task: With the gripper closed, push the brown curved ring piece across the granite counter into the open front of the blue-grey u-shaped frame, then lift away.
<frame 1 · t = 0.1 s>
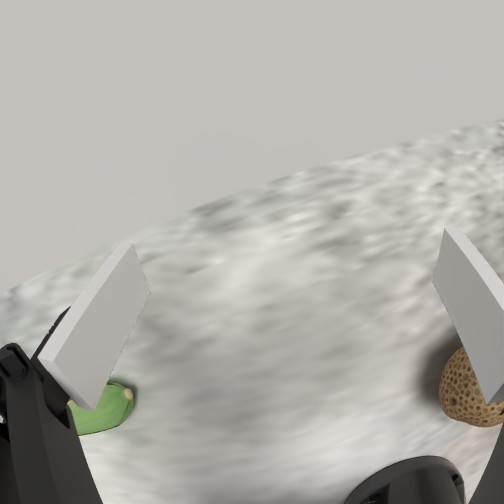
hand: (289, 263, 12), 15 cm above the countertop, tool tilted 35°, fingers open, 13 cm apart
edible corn: (86, 409, 30), on the countertop
natural sponge: (459, 365, 25), on the countertop
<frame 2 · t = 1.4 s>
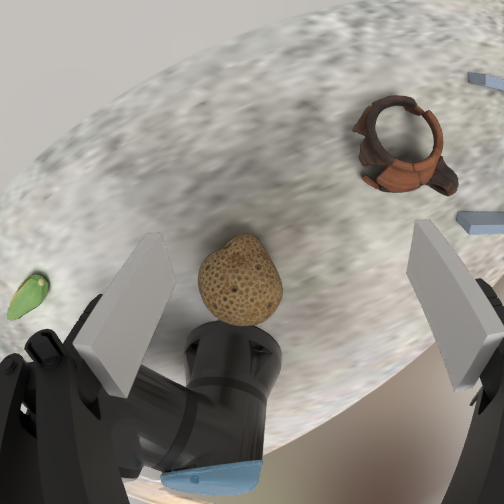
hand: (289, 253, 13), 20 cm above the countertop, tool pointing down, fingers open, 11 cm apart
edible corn: (30, 291, 47), on the countertop
natural sponge: (244, 256, 38), on the countertop
brown curved ring piece: (396, 147, 29), on the countertop
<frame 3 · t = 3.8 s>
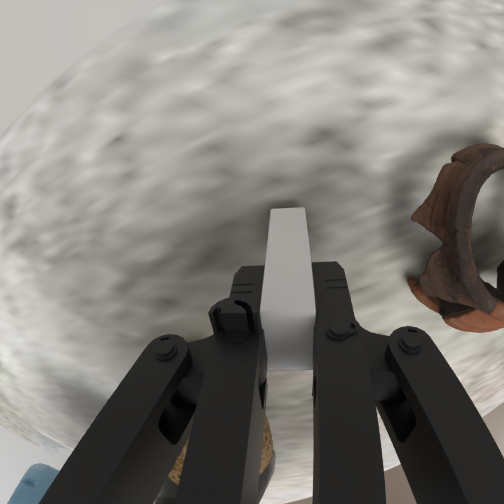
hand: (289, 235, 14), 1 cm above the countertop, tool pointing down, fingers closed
natural sponge: (218, 373, 23), on the countertop
brown curved ring piece: (470, 229, 15), on the countertop
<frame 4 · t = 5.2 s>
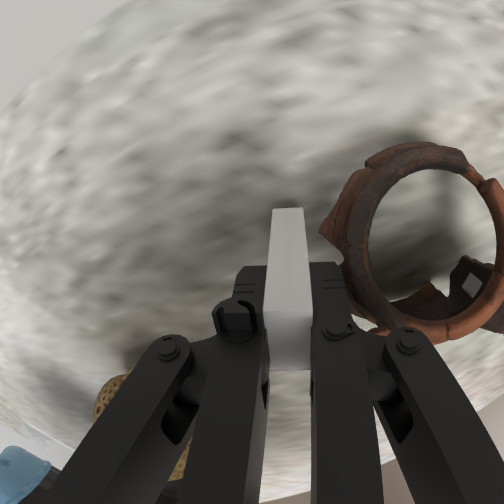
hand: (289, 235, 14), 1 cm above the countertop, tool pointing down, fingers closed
natural sponge: (169, 367, 24), on the countertop
brown curved ring piece: (414, 233, 15), on the countertop, touching gripper
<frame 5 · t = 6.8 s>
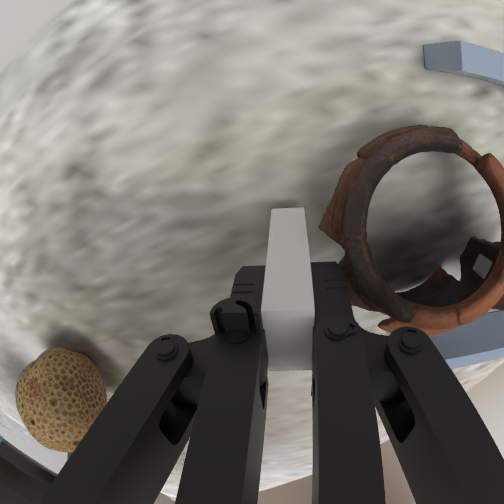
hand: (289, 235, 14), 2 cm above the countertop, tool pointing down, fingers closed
natural sponge: (83, 357, 25), on the countertop
brown curved ring piece: (419, 220, 15), on the countertop, touching gripper
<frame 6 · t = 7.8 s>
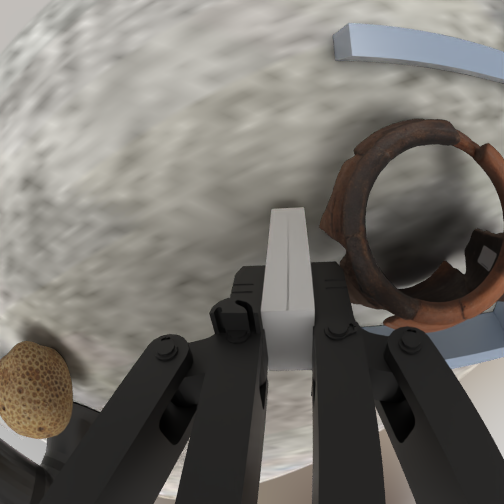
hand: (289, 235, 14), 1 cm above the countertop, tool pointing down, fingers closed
blue-grey u-shaped frame: (458, 217, 14), on the countertop
natural sponge: (54, 352, 26), on the countertop
brown curved ring piece: (421, 214, 15), on the countertop, touching gripper
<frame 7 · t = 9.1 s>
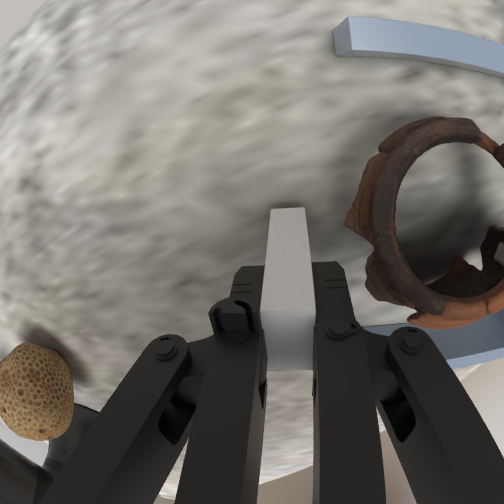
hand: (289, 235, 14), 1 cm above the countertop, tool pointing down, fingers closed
blue-grey u-shaped frame: (462, 214, 14), on the countertop
natural sponge: (55, 353, 26), on the countertop
brown curved ring piece: (439, 211, 14), on the countertop
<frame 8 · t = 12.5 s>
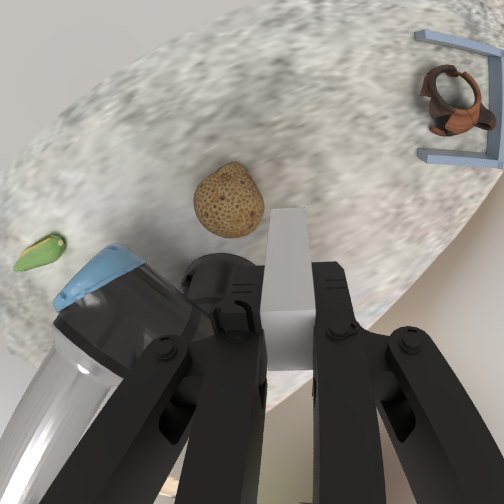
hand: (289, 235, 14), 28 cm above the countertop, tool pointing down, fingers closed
blue-grey u-shaped frame: (459, 99, 32), on the countertop
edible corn: (41, 248, 54), on the countertop
natural sponge: (234, 188, 44), on the countertop
brown curved ring piece: (447, 103, 33), on the countertop
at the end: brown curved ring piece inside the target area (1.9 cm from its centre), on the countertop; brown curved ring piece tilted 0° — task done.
